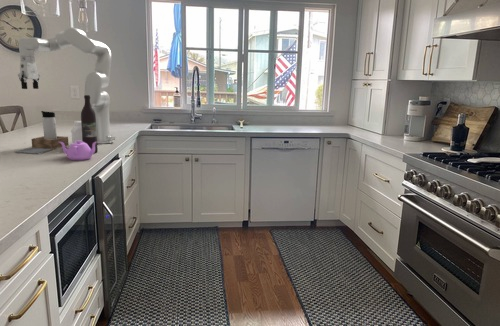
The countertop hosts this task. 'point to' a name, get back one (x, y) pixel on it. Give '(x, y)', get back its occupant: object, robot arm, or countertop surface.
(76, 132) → the jar
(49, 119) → the travel mug
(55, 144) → the collar
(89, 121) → the wine bottle
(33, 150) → the mat
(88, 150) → the teapot
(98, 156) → the countertop surface
